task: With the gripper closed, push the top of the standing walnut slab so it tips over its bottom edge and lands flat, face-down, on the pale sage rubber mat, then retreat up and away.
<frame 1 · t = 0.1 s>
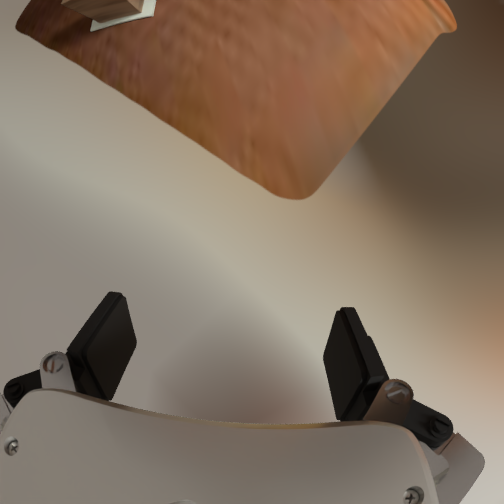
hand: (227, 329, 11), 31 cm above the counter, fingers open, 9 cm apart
slab: (122, 9, 26), resting on mat
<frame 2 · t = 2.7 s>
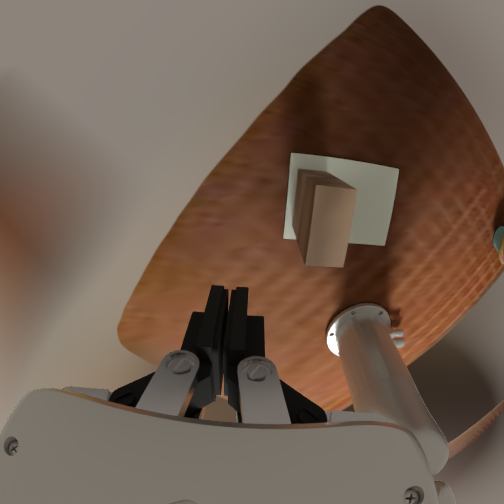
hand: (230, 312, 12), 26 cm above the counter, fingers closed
slab: (309, 198, 36), resting on mat
mat: (342, 201, 36), on the counter
cupcake: (498, 236, 37), on the counter
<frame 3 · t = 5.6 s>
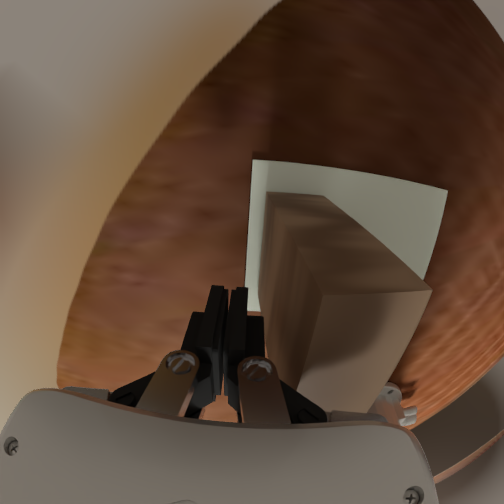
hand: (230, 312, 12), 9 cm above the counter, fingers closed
slab: (289, 247, 20), point 1 cm above the counter, tilted 5°, touching mat
mat: (350, 248, 20), on the counter
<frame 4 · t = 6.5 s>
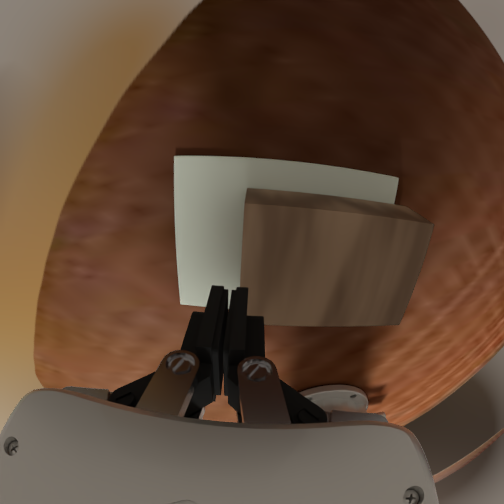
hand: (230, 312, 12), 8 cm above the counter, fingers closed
slab: (242, 255, 18), point 3 cm above the counter, tilted 90°, touching mat
mat: (284, 242, 20), on the counter
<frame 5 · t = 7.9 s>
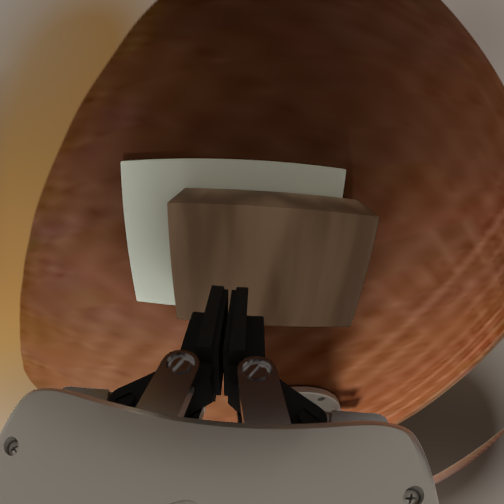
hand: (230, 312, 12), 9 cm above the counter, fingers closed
slab: (179, 253, 18), point 3 cm above the counter, tilted 90°, touching mat
mat: (227, 240, 20), on the counter
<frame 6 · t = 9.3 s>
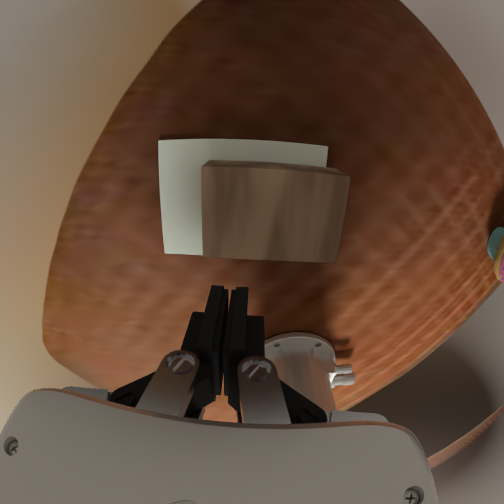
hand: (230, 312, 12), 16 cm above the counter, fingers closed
slab: (205, 207, 24), point 3 cm above the counter, tilted 90°, touching mat
mat: (240, 200, 26), on the counter
cupcake: (494, 241, 28), on the counter
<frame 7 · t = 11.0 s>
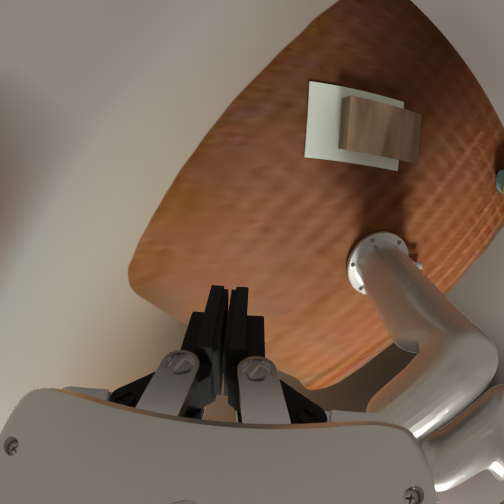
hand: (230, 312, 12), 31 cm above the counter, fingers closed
slab: (344, 122, 34), point 3 cm above the counter, tilted 90°, touching mat
mat: (356, 126, 36), on the counter
cupcake: (500, 180, 37), on the counter
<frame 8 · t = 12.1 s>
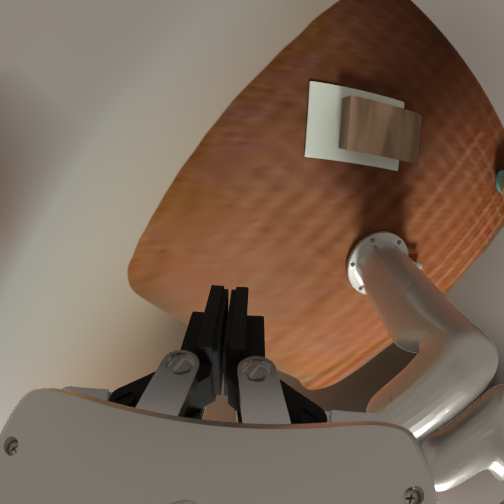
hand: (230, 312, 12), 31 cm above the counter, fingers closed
slab: (344, 122, 34), point 3 cm above the counter, tilted 90°, touching mat
mat: (357, 126, 36), on the counter
cupcake: (500, 181, 37), on the counter
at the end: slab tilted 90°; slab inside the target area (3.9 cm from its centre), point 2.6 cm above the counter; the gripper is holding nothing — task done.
